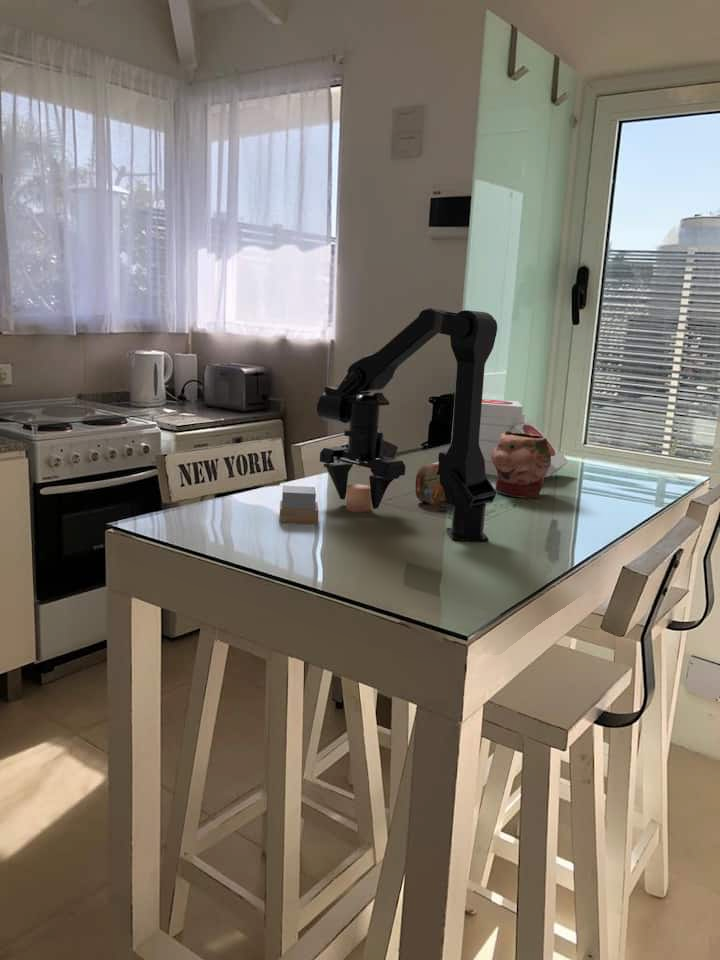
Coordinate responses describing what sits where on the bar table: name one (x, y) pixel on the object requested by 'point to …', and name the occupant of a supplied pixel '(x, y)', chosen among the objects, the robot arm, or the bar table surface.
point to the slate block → (298, 497)
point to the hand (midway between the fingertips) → (358, 503)
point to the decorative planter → (521, 464)
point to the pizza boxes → (509, 418)
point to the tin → (429, 484)
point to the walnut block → (299, 515)
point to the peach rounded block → (358, 498)
